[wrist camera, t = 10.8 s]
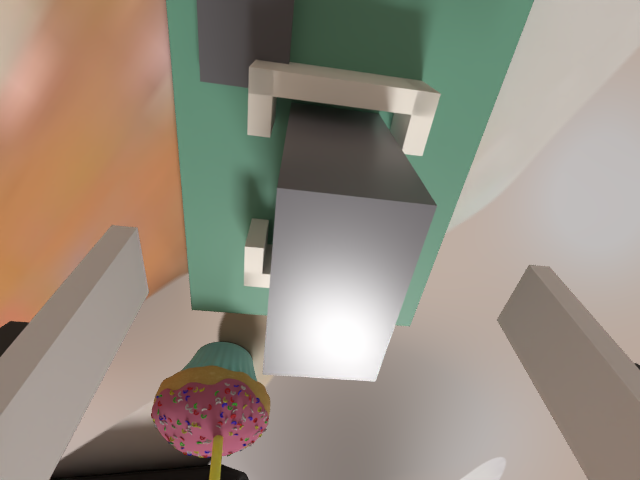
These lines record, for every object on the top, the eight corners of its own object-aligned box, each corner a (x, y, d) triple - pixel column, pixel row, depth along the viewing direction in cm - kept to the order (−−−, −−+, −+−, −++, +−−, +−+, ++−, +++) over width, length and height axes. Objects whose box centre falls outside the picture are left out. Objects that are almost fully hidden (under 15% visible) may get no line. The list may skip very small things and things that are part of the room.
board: (167, -103, 15) (123, -136, 11) (534, -37, 16) (596, -48, 13) (196, 298, 27) (179, 343, 23) (406, 314, 28) (420, 359, 25)
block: (291, 102, 18) (276, 188, 10) (379, 113, 19) (437, 205, 10) (278, 248, 23) (261, 389, 15) (348, 255, 23) (370, 396, 15)
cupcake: (229, 310, 27) (184, 487, 17) (295, 368, 31) (289, 539, 21) (150, 353, 30) (71, 530, 20) (221, 402, 34) (184, 570, 24)
